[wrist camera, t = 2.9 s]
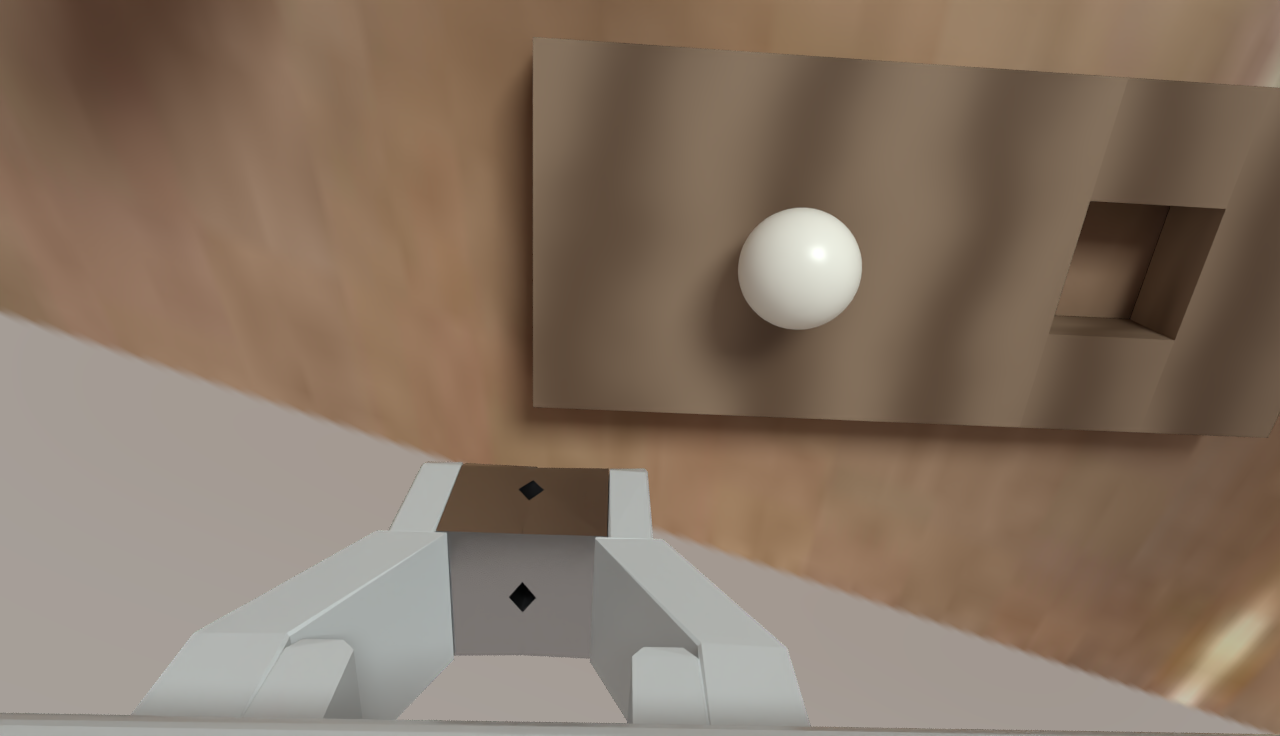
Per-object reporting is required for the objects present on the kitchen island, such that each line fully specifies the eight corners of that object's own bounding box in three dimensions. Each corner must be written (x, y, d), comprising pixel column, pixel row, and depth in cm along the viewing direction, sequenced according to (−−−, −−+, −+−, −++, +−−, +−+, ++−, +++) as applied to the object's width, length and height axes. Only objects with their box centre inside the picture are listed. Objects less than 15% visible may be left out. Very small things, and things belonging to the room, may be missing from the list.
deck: (1355, 96, 25) (1429, 97, 23) (1218, 410, 30) (1267, 437, 28) (541, 40, 24) (533, 37, 22) (539, 380, 29) (533, 407, 27)
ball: (850, 201, 24) (892, 224, 20) (830, 310, 25) (866, 350, 22) (736, 194, 24) (757, 216, 20) (724, 305, 25) (741, 344, 22)
